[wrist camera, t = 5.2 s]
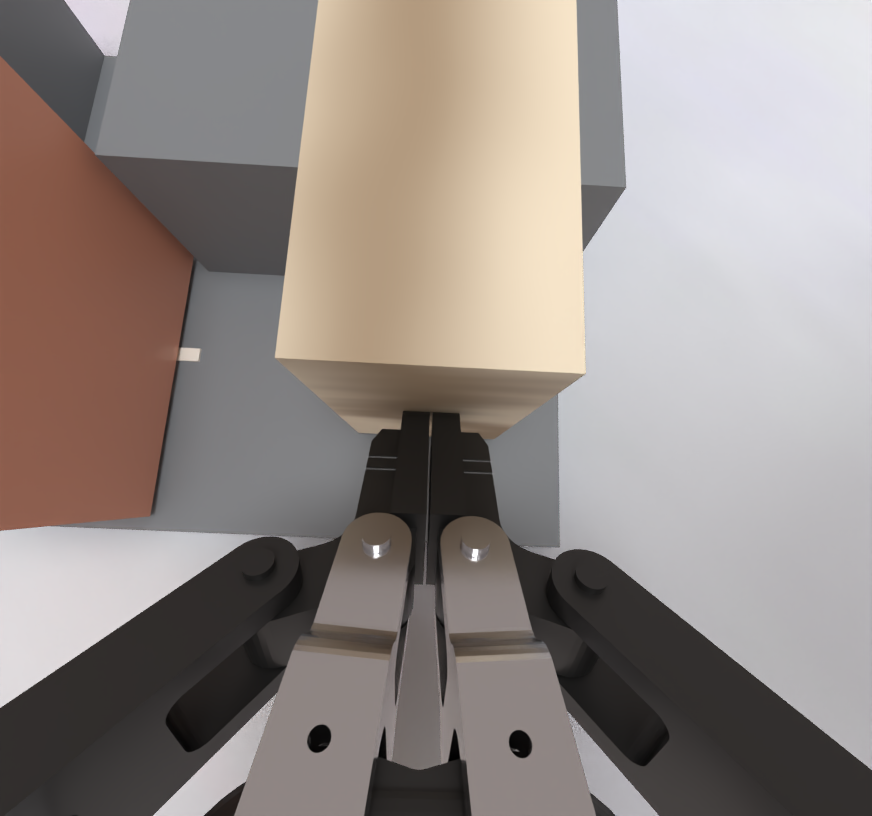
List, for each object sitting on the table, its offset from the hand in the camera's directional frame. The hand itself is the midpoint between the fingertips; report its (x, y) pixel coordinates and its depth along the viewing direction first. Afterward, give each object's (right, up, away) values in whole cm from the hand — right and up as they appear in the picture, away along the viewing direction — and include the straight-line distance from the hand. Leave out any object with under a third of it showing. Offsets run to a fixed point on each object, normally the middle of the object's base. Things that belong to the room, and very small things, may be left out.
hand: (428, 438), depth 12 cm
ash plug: (0, +5, +5) cm, 7 cm away
